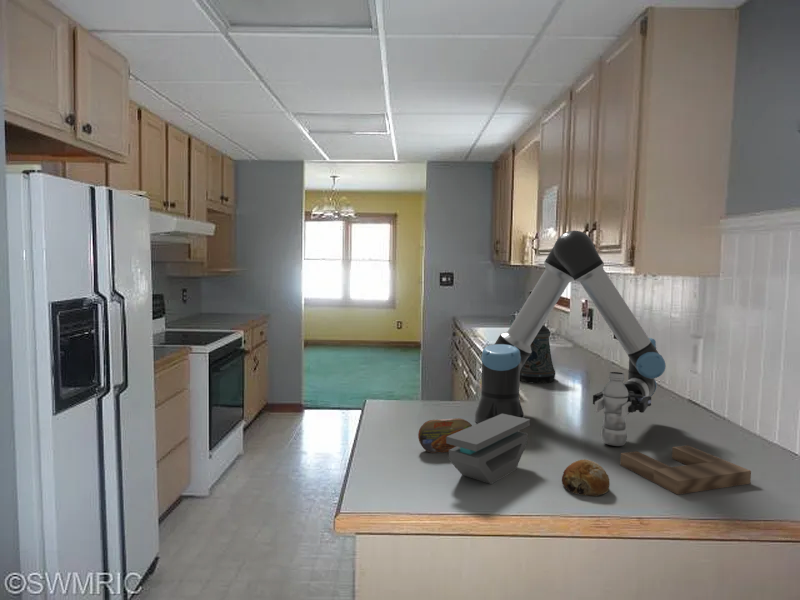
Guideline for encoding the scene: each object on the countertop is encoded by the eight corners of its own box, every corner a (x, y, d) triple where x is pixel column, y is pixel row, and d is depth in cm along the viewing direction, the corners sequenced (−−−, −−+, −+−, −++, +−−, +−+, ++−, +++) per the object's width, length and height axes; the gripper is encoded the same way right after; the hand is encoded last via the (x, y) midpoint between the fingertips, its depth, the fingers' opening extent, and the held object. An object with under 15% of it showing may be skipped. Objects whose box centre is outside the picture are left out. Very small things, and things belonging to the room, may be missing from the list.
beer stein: (559, 383, 227) (561, 323, 225) (512, 383, 227) (514, 322, 225) (549, 375, 243) (551, 318, 242) (505, 374, 244) (506, 318, 242)
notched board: (677, 494, 120) (678, 481, 120) (620, 465, 137) (620, 453, 137) (750, 483, 127) (751, 470, 126) (687, 456, 144) (687, 445, 143)
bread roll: (611, 511, 120) (626, 477, 120) (574, 497, 117) (590, 462, 117) (583, 493, 129) (597, 461, 130) (549, 478, 126) (563, 446, 127)
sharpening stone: (501, 454, 144) (502, 413, 143) (528, 462, 139) (530, 419, 138) (445, 484, 124) (446, 436, 124) (475, 493, 119) (476, 444, 119)
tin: (419, 454, 143) (420, 422, 143) (416, 449, 146) (417, 418, 146) (475, 450, 146) (475, 419, 146) (471, 446, 149) (471, 416, 149)
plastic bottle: (627, 450, 148) (630, 376, 146) (600, 446, 150) (603, 374, 149) (626, 442, 154) (629, 371, 152) (600, 439, 156) (603, 369, 155)
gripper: (666, 411, 160) (647, 430, 142) (599, 400, 172) (573, 416, 153) (668, 385, 160) (648, 401, 141) (600, 376, 171) (574, 390, 153)
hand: (609, 409), depth 147 cm, fingers closed on plastic bottle, 6 cm apart
